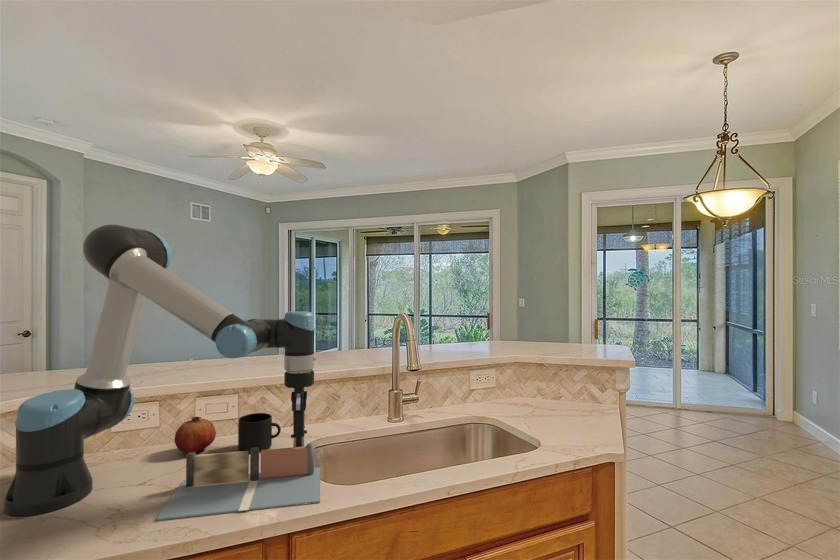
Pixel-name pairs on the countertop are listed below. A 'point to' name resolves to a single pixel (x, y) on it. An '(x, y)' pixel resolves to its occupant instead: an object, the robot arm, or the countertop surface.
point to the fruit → (195, 435)
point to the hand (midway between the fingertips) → (298, 460)
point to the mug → (256, 431)
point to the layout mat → (242, 496)
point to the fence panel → (287, 461)
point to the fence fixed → (221, 467)
